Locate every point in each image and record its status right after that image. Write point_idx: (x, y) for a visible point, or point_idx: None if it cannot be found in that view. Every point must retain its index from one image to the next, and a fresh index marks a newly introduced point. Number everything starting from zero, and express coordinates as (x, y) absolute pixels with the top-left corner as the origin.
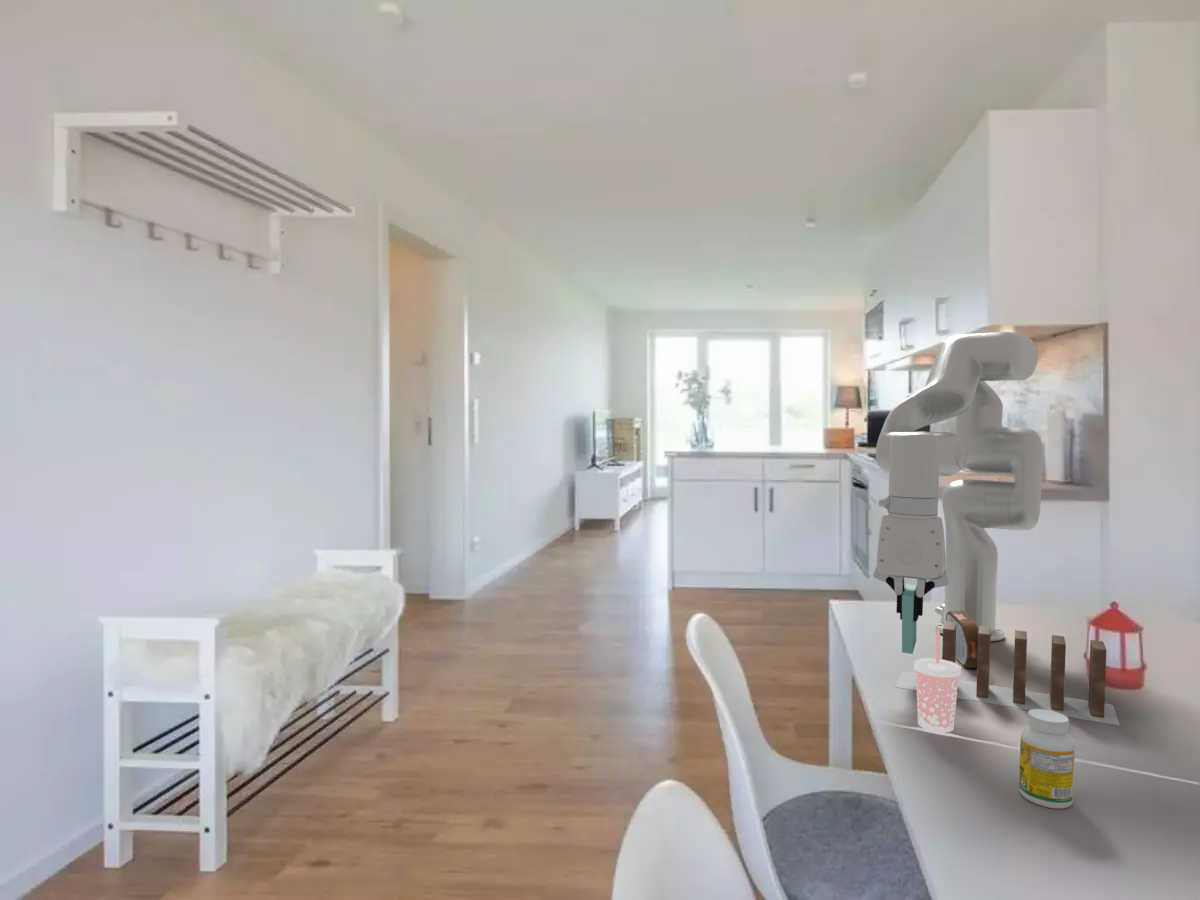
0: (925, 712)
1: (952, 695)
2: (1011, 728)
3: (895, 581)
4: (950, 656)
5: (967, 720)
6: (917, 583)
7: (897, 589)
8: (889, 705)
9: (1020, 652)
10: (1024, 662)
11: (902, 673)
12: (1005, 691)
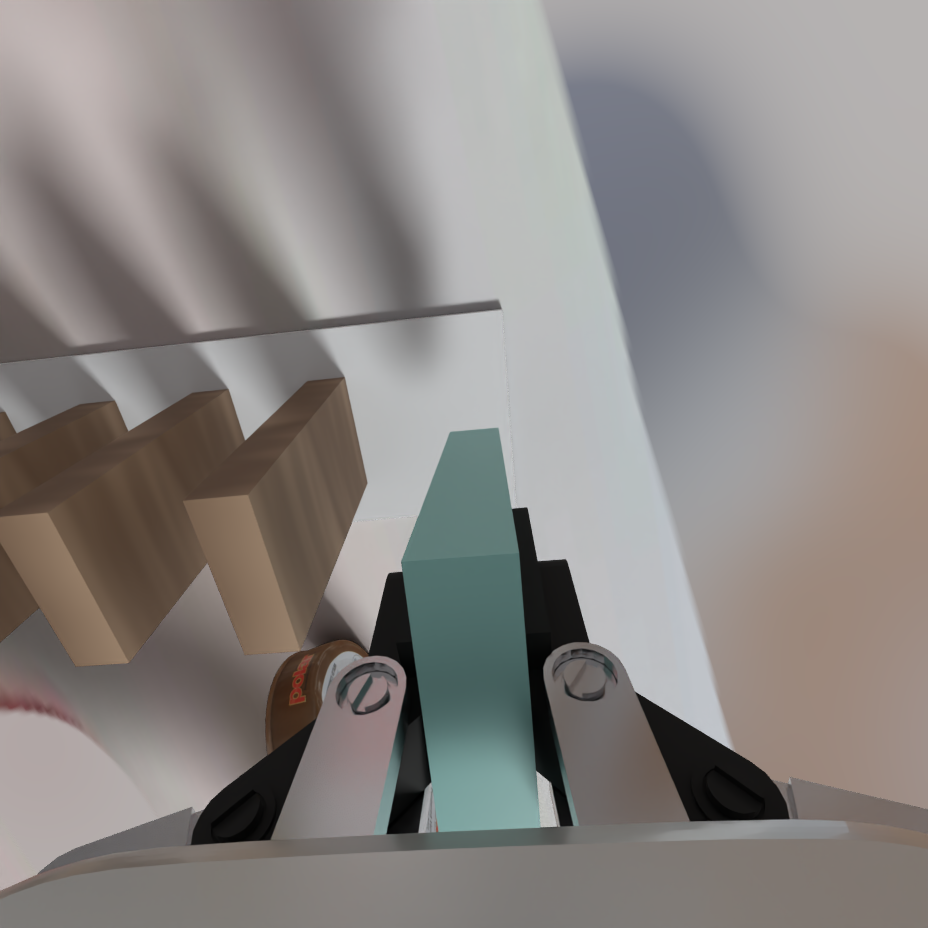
0: None
1: None
2: (2, 112)
3: (654, 780)
4: (266, 431)
5: (157, 89)
6: (374, 801)
7: (601, 698)
8: (472, 56)
9: None
10: None
11: (510, 481)
12: None
